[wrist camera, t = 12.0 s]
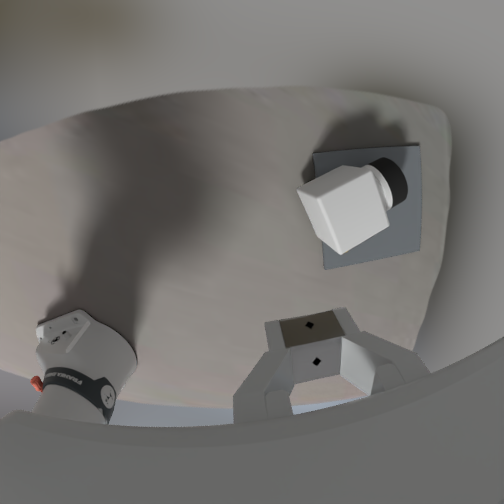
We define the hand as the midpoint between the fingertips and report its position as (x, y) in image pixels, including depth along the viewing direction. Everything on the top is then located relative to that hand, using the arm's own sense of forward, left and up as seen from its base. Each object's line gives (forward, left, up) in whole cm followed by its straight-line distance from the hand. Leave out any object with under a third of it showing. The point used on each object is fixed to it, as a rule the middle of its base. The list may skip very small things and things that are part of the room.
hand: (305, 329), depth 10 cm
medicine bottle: (+6, -4, -22) cm, 23 cm away
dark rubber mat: (+15, -4, -27) cm, 31 cm away
